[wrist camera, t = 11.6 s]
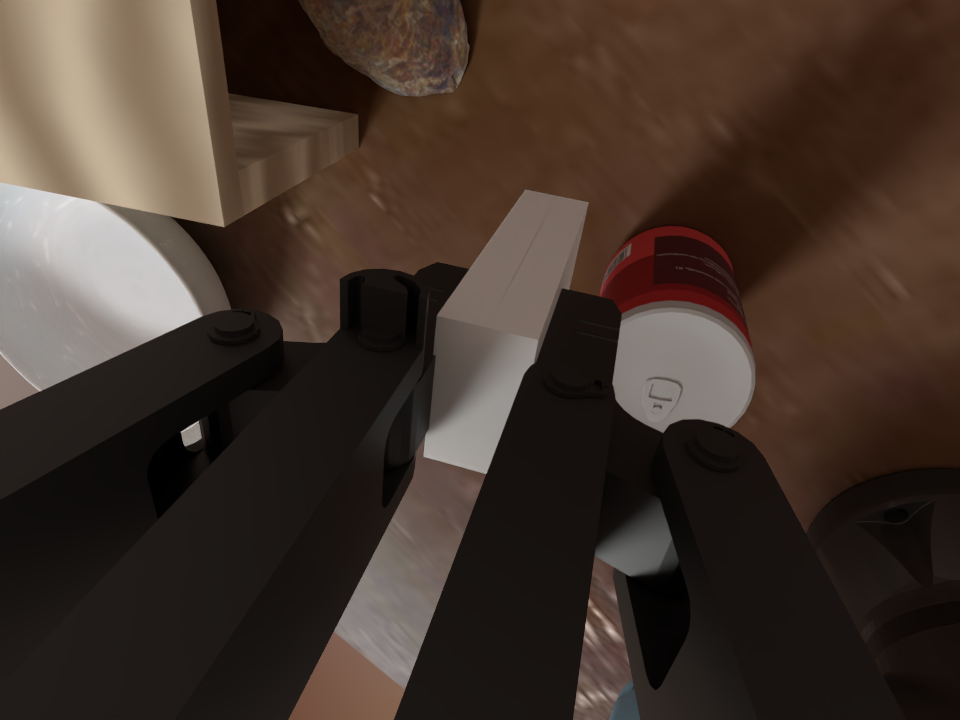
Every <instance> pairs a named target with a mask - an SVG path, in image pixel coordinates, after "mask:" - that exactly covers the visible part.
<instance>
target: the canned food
mask: <svg viewBox="0 0 960 720" xmlns="http://www.w3.org/2000/svg"><path fill="white" fill-rule="evenodd" d="M599 297H603V298H608V299H612V300H613V301H614V302H615V304H616V305H617V307H618V309H619V310H620V312H621V313H622V318H621V325H620V333H619V340H618V347H617V354H616V361H615V369H614V376H613V383H612V385H613V386H614V391H615V399H616V401H617V402H618V403H619V404H620V406H621V407H622V408H623V409H624V410H625V411H626V412H627V413H629V414H630V415H631V416H632V417H634V418H635V419H637V420H639V421H640V422H642V423H644V424H646V425H648V426H650V427H652V428H654V429H656V430H658V431H660V432H662V433H664V431H665V430H666V429H667V427H668V426H669V424H672V423H675V422H677V421H680V420H682V419H701V420H705V421H710V422H714V423H719V424H721V425H724V426H725V427H728V428H730V427H732V426H733V425H734V424H735V423H736V422H737V421H738V420H739V418H740V417H741V416H742V415H743V414H744V412H745V411H746V409H747V407H748V405H749V403H750V401H751V399H752V395H753V392H754V388H755V360H754V356H753V349H752V345H751V341H750V337H749V333H748V329H747V325H746V320H745V316H744V312H743V308H742V304H741V300H740V296H739V291H738V287H737V283H736V279H735V275H734V271H733V267H732V264H731V262H730V260H729V258H728V256H727V254H726V253H725V251H724V250H723V249H722V248H721V247H720V245H719V244H718V243H717V242H715V241H714V240H713V239H711V238H710V237H709V236H707V235H705V234H703V233H701V232H699V231H697V230H694V229H691V228H687V227H683V226H662V227H656V228H653V229H650V230H647V231H644V232H642V233H640V234H639V235H637V236H635V237H633V238H632V239H630V240H629V241H628V242H627V243H625V244H624V245H623V246H622V247H621V248H620V249H619V250H618V251H617V252H616V254H615V255H614V256H613V257H612V259H611V261H610V263H609V264H608V266H607V268H606V271H605V275H604V278H603V282H602V287H601V291H600V296H599Z"/></svg>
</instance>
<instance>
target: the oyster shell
mask: <svg viewBox="0 0 960 720" xmlns="http://www.w3.org/2000/svg"><path fill="white" fill-rule="evenodd" d="M298 1H299V2H300V4H301V6H302V8H303V10H304V11H305V12H306V13H307V15H308V16H309V18H310V20H311V21H312V23H313V24H314V25H315V27H316V28H317V30H318V31H319V33H320V38H321V39H323V42H324V45H325V46H326V47H327V48H328V49H329V50H330V51H331V52H332V53H333V54H334V55H337V56H339V57H341V58H342V60H343V61H344V62H345V63H346V64H347V65H349V66H350V67H352V68H354V69H355V70H357V71H358V72H360V73H362V74H364V75H366V76H368V77H369V78H370V79H372V80H373V81H374V82H375V83H377V84H378V85H380V86H381V87H383V88H384V89H386V90H388V91H391V92H393V93H396V94H399V95H403V96H416V97H421V96H426V95H429V94H435V93H452V92H454V91H455V90H456V88H457V87H458V84H459V83H460V81H461V79H462V76H463V73H464V71H465V68H466V66H467V63H468V54H469V48H470V46H469V44H468V42H467V24H466V22H465V18H464V14H463V9H462V5H461V1H460V0H298Z"/></svg>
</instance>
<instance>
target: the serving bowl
mask: <svg viewBox="0 0 960 720" xmlns="http://www.w3.org/2000/svg"><path fill="white" fill-rule="evenodd" d="M230 309H231V307H230V304H229V301H228V298H227V295H226V292H225V290H224V287H223V285H222V283H221V281H220V279H219V277H218V275H217V273H216V271H215V270H214V268H213V266H212V264H211V263H210V261H209V260H208V258H207V257H206V255H205V254H204V253H203V251H202V250H201V248H200V247H199V246H198V245H197V243H196V242H195V241H194V240H193V239H192V238H191V236H190V235H189V234H188V233H187V232H186V231H185V230H184V229H183V228H182V227H181V226H180V225H179V224H178V223H177V222H176V221H175V220H174V219H173V218H171V217H170V216H166V215H161V214H156V213H151V212H146V211H141V210H136V209H131V208H126V207H121V206H116V205H111V204H106V203H101V202H96V201H91V200H86V199H81V198H76V197H71V196H66V195H61V194H56V193H51V192H46V191H41V190H36V189H31V188H26V187H21V186H16V185H11V184H6V183H1V182H0V354H1V355H2V356H3V357H4V358H5V359H6V360H7V361H8V362H9V364H10V365H11V366H13V368H14V369H15V370H16V371H17V372H18V373H19V374H20V375H22V376H23V377H24V378H25V379H26V380H27V381H28V382H29V383H30V384H32V385H33V386H34V387H35V388H36V389H37V390H39V391H42V390H44V389H46V388H48V387H51V386H53V385H55V384H57V383H59V382H61V381H64V380H66V379H68V378H70V377H72V376H74V375H76V374H79V373H81V372H83V371H85V370H87V369H89V368H92V367H94V366H96V365H98V364H100V363H102V362H105V361H107V360H109V359H111V358H113V357H115V356H118V355H120V354H122V353H124V352H126V351H128V350H130V349H133V348H135V347H137V346H139V345H141V344H143V343H146V342H148V341H150V340H152V339H154V338H156V337H159V336H161V335H163V334H165V333H167V332H169V331H171V330H174V329H176V328H178V327H180V326H182V325H184V324H187V323H189V322H191V321H193V320H195V319H197V318H200V317H202V316H205V315H208V314H211V313H214V312H217V311H223V310H230ZM198 422H199V421H198ZM198 422H196V423H194V424H193V425H191V426H189V427H188V428H186V429H185V430H183V431H181V433H182V432H184V431H186V430H188V429H190V428H191V427H193V426H194V425H196V424H197V423H198Z"/></svg>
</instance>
